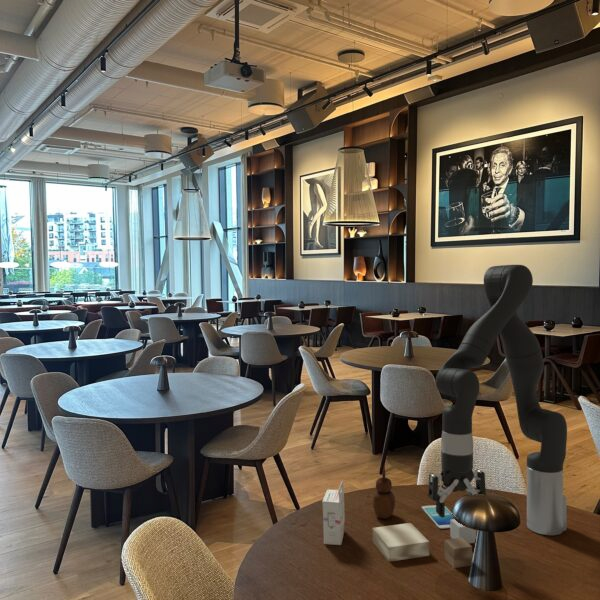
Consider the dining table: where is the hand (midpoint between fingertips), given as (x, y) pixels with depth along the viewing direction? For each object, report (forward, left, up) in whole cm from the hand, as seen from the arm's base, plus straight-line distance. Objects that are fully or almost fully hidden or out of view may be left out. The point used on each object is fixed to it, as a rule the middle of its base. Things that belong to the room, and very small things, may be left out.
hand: (457, 514), depth 134 cm
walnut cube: (0, 0, -12) cm, 12 cm away
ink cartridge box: (+26, -20, -12) cm, 35 cm away
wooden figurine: (+8, -29, -12) cm, 32 cm away
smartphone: (-8, -24, -13) cm, 28 cm away
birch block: (+11, -10, -12) cm, 19 cm away
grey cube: (-7, -10, -12) cm, 17 cm away
